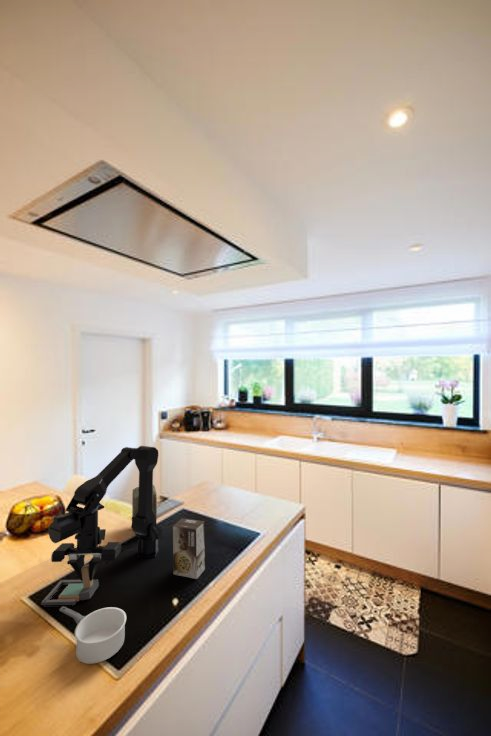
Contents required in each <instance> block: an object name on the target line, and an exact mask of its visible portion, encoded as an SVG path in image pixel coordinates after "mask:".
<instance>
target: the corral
mask: <svg viewBox="0 0 491 736" xmlns="http://www.w3.org/2000/svg"><path fill="white" fill-rule="evenodd" d="M76 583H83V581H81V580H80V579H60V580H59V581H58V582H57V584H56V585H55V586H54V587H53V588H52V589H51V591H50V592H49V593H48V594H47V595H46V596H45V597H44V599H43V600H42V601H41V602H40V606H41V605H72V607H73V605H75V604H76V605H77V602H78V601H77V599H58V598H57V599H53V597H54V596H55V595H56V594H57V593H58V592H59V590H60V589H61V588H62V587H63V586H62V585H68V584H76ZM61 586H62V587H61ZM60 587H61V588H60ZM59 588H60V589H59ZM58 589H59V590H58ZM56 592H57V593H56ZM55 593H56V594H55ZM54 594H55V595H54ZM53 595H54V596H53ZM52 596H53V597H52ZM50 599H51V600H50ZM76 605H75V606H76Z"/></svg>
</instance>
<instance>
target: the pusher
mask: <svg viewBox="0 0 491 736" xmlns="http://www.w3.org/2000/svg"><path fill="white" fill-rule="evenodd" d="M81 572H82V579H83V586H84V588H83V589H82V590H81V592H80V593H79V598H80V600H81V601H85V600H91V598H92V596H94V594H95V592H96V590H98V588H99V586H100V583H99V579H98V578H97V579H94V578H93V579H92V581H90V578H89V563H87V564H84V566H83V567H82V568H81ZM80 600H79V601H80Z"/></svg>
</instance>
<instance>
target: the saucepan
mask: <svg viewBox="0 0 491 736" xmlns="http://www.w3.org/2000/svg"><path fill="white" fill-rule="evenodd" d="M58 610H59V612H61V613H63V614H65V615H67V616H68V617H71V618H73V620H74V622H75V624H77V625H76V627H75V629H74V637H75V640H76V642H75V643H76V644H75V646H76V647H75V656H76V658H77V659H78V661H80V662H82V663H83V664H88V665H89V664H90V665H91V664H98V663H101V662H104V661H106V660H107V659H110V658H111V657H113V656H114V655H116V653H118V652H119V650H120V649H121V648H122V646H123V645H124V643H125V639H126V638H125V637H126V636H125V635H126V631H125V630H126V629H125V628H126V626H125V625H126V623H127V613H126V612H125V611H124V609H121V608H119V607H115V606H113V607H112V606H110V607H103V608H99V609H97V610H94V611H92V612H90V613H89V614H87V615H82V614H80V613H79V612H77V611H75V610H73V609H70V608H68V607H67V606H60V608H59V609H58Z"/></svg>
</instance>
